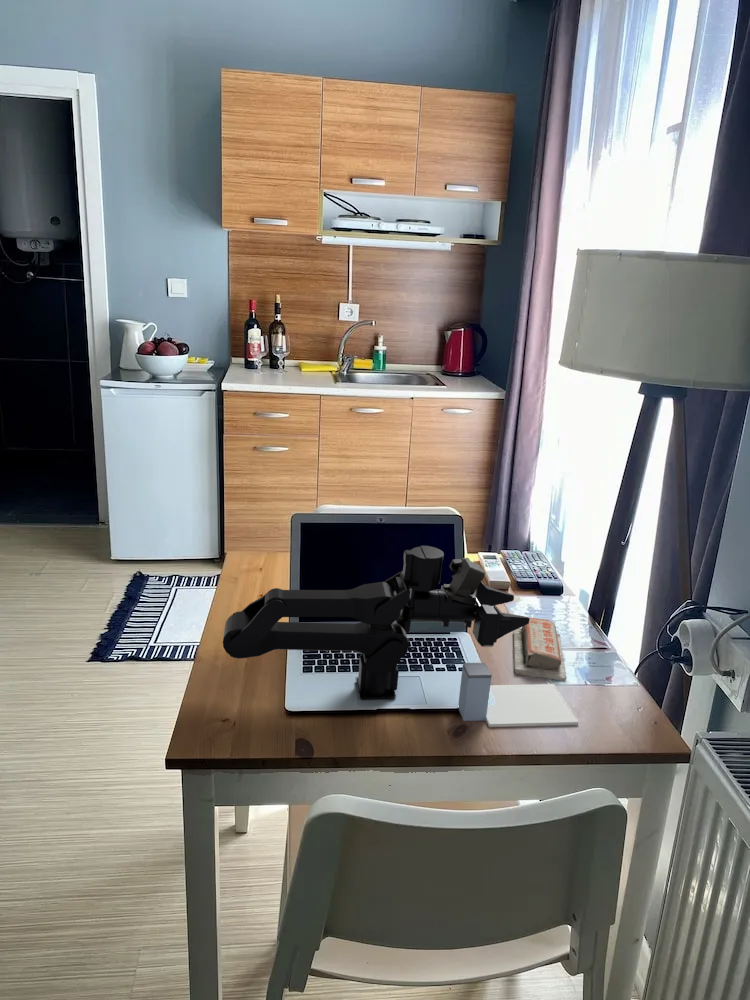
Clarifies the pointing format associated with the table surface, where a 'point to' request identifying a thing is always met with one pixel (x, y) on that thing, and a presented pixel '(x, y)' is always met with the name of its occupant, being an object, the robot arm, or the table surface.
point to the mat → (528, 706)
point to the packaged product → (539, 650)
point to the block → (474, 691)
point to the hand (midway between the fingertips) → (521, 608)
